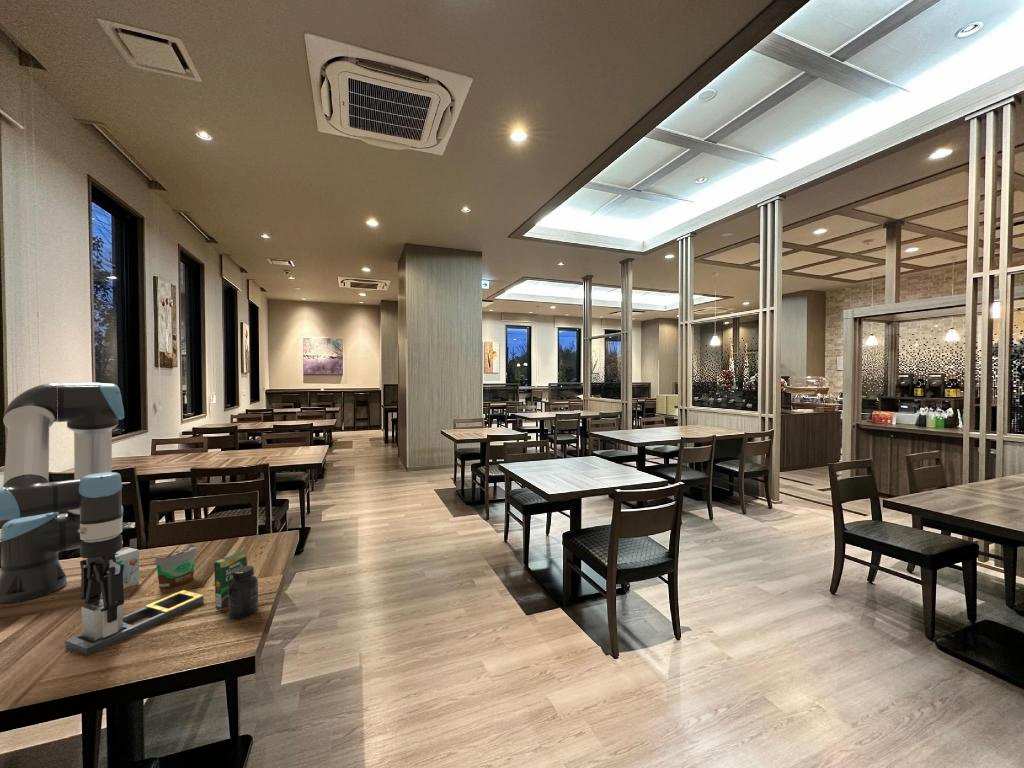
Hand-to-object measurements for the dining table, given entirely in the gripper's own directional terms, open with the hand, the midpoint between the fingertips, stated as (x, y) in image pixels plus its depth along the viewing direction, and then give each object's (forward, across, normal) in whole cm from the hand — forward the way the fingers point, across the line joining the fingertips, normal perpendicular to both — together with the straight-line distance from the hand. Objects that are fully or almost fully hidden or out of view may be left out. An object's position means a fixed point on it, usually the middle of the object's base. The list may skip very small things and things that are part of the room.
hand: (102, 631), depth 105 cm
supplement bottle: (+2, +21, +21) cm, 30 cm away
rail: (+2, 0, +8) cm, 8 cm away
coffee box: (+2, +12, +24) cm, 27 cm away
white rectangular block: (+2, 0, 0) cm, 2 cm away
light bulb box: (+2, -31, +17) cm, 35 cm away
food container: (+2, -15, +27) cm, 31 cm away
